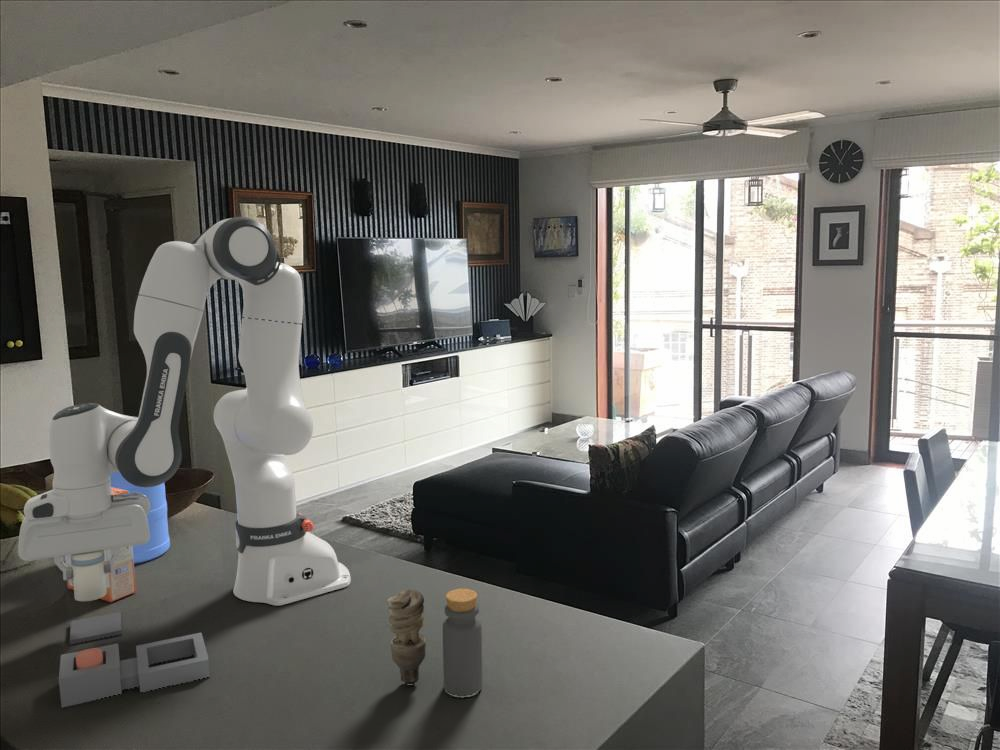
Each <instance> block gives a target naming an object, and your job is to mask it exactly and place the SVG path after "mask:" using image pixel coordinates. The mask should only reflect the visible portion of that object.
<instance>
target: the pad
mask: <svg viewBox="0 0 1000 750" xmlns="http://www.w3.org/2000/svg"><path fill="white" fill-rule="evenodd" d="M121 614H122V613H121V611H118V612H113V613H108V614H103V615H97V616H91V617H87V618H80V619H76V620H71V621H70V629H69V630H70V631H69V645H76V643H77V644H80V643H81V642H82V643H85V641H87V642H90V640H92V641H96V640H95V639H97V640H99V639H98V638H102V639H105V638H104V637H107V638H111V637H110V636H112V637H116V635H117V636H122V635H123V630H122V629H123V628H122V616H121ZM121 634H122V635H121ZM82 643H81V644H82Z"/></svg>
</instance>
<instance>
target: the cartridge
mask: <svg viewBox="0 0 1000 750" xmlns="http://www.w3.org/2000/svg"><path fill="white" fill-rule="evenodd" d="M104 559H105V555H104V550H101V551H94V552H87V553H80V554H73V555H71V564H72V571H73V584H74V590H73V593H74V600H75V601H78V602H92V601H95V600H99V598H102V597H103V596H105V595H106V593H107V591H106V577H105V567H104Z"/></svg>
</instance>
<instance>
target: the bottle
mask: <svg viewBox="0 0 1000 750" xmlns="http://www.w3.org/2000/svg"><path fill="white" fill-rule="evenodd" d="M477 599H478V594H477V592H476V591H475V590H472V589H470V588H455V589H453V590H452V589H451V590H449V591H448V592H447V593H446V594H445V600H446V604H445V606H444V614H445V616H446V617H447V618H445V619H444V620H443V622H442V664H443V665H442V666H443V667H442V668H443V689H445V690H446V691H447V692H448V693H450V694H452V695H457V696H467V695H472V694H473V693H476V692H477V691H479V690H480V689H481V687H482V688H483V640H482V639H483V638H482V637H483V636H482V635H483V633H482V629H483V628H482V621H481V619H480V618H479V617H477V616H478V614H479V612H480V609H479V608H480V606H479V604H478V603H477ZM445 690H444V691H445Z"/></svg>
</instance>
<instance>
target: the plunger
mask: <svg viewBox="0 0 1000 750" xmlns="http://www.w3.org/2000/svg"><path fill="white" fill-rule="evenodd" d="M80 651H81V652H79V653H78V654H77V655H76V664H77V670H78V669H83V668H88V667H93V666H97V665H102V664H103V654H102V650H101V649H99V648H97V647H92V648H91V647H90V648H87V649H83V651H82V650H80Z"/></svg>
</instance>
